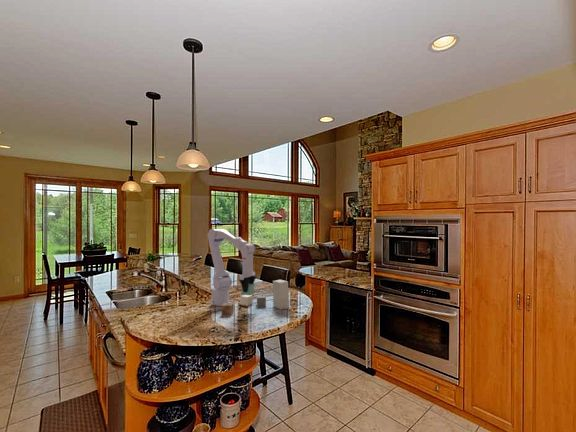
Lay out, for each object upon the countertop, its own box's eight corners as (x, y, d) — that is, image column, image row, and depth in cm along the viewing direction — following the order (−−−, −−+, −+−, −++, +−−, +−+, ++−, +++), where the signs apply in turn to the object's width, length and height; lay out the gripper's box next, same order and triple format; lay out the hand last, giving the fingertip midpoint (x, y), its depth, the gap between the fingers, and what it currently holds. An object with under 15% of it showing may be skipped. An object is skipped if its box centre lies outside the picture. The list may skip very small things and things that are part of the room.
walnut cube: (221, 315, 154) (221, 305, 154) (224, 312, 159) (224, 302, 159) (231, 315, 153) (231, 305, 153) (233, 312, 158) (233, 302, 158)
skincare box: (289, 308, 166) (289, 281, 166) (280, 310, 162) (280, 282, 162) (281, 304, 173) (281, 278, 173) (272, 306, 169) (272, 280, 169)
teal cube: (241, 294, 161) (241, 285, 161) (245, 292, 165) (246, 283, 166) (249, 295, 159) (249, 285, 159) (254, 293, 164) (254, 283, 164)
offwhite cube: (240, 304, 173) (240, 296, 173) (245, 302, 177) (245, 294, 177) (247, 306, 170) (247, 297, 170) (252, 304, 174) (252, 295, 175)
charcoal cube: (256, 306, 169) (256, 297, 169) (257, 304, 174) (257, 295, 174) (265, 306, 169) (265, 297, 169) (265, 304, 174) (265, 295, 174)
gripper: (248, 268, 154) (248, 294, 154) (260, 264, 168) (260, 288, 168) (236, 267, 157) (236, 293, 157) (248, 263, 170) (248, 287, 170)
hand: (247, 290), depth 162 cm, fingers closed on teal cube, 5 cm apart
